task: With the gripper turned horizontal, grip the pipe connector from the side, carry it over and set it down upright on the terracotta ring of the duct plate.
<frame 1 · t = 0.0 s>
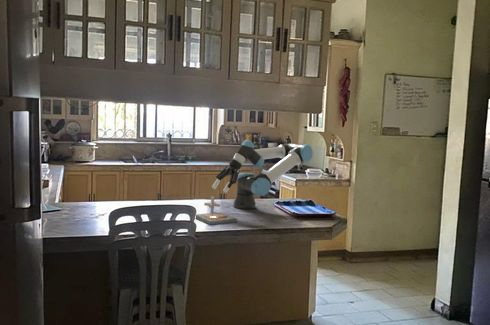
hand: (218, 190, 283), 15 cm above the counter, tool tilted 35°, fingers open, 13 cm apart
pipe connector: (212, 212, 289), on the counter
duct plate: (215, 219, 269), on the counter
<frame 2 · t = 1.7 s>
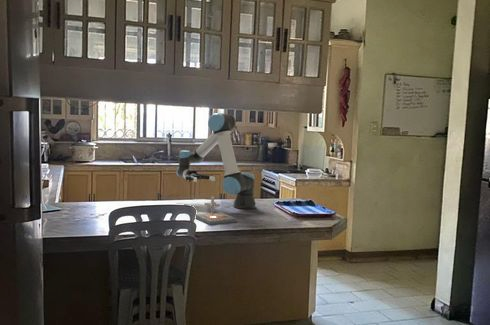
hand: (205, 179, 295), 20 cm above the counter, tool horizontal, fingers open, 13 cm apart
nothing on the counter moved.
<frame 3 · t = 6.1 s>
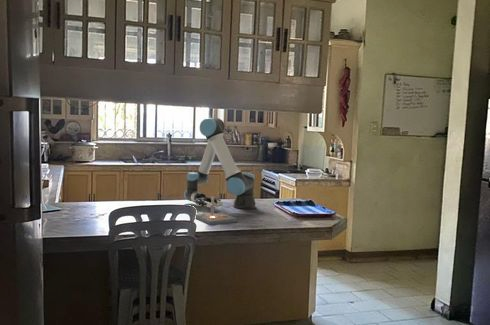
hand: (216, 204, 284), 6 cm above the counter, tool horizontal, fingers closed on pipe connector, 8 cm apart
pipe connector: (212, 212, 289), on the counter, touching gripper
when the fingers open (9 cm above the counter, at t = 11.4 s): pipe connector drops 1 cm, resting on duct plate.
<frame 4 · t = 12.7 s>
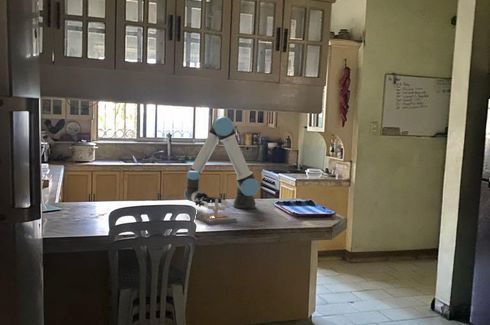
hand: (217, 204, 267), 10 cm above the counter, tool horizontal, fingers open, 13 cm apart
pipe connector: (215, 216, 269), point 2 cm above the counter, touching duct plate
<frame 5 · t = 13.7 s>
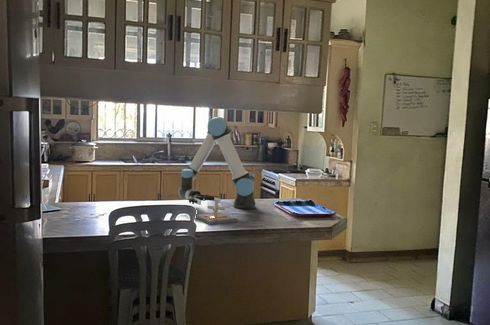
hand: (210, 201, 274), 10 cm above the counter, tool horizontal, fingers open, 13 cm apart
nothing on the counter moved.
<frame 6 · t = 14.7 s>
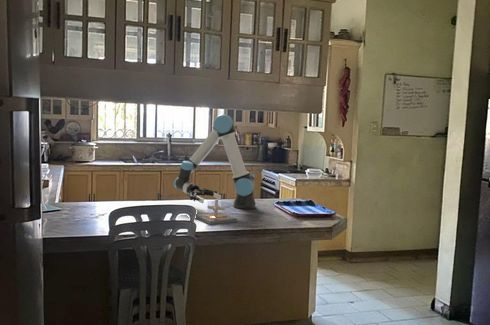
hand: (212, 199, 278), 10 cm above the counter, tool horizontal, fingers open, 13 cm apart
nothing on the counter moved.
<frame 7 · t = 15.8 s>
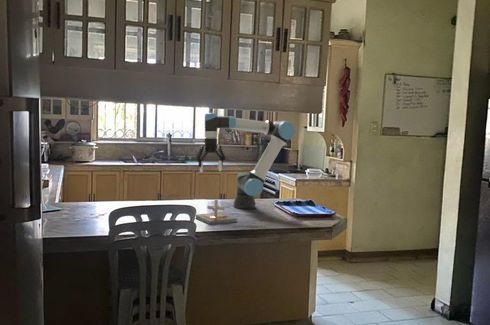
hand: (210, 171, 288), 26 cm above the counter, tool pointing down, fingers open, 13 cm apart
nothing on the counter moved.
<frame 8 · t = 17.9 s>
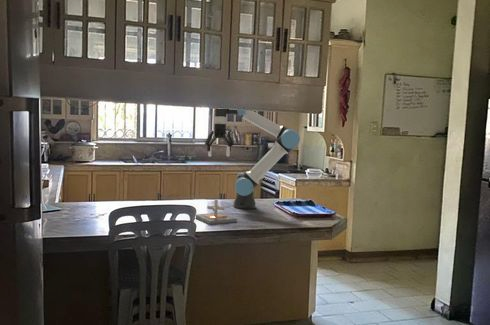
hand: (218, 156, 296), 35 cm above the counter, tool pointing down, fingers open, 13 cm apart
nothing on the counter moved.
at the end: pipe connector inside the target area on the duct plate (0.1 cm from its centre), point 1.9 cm above the duct plate's base; pipe connector tilted 1°; the gripper is holding nothing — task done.
